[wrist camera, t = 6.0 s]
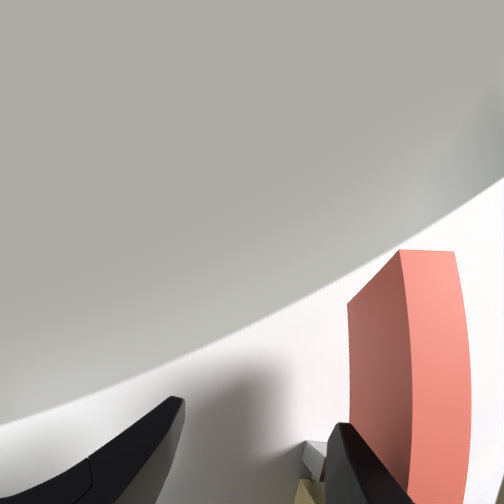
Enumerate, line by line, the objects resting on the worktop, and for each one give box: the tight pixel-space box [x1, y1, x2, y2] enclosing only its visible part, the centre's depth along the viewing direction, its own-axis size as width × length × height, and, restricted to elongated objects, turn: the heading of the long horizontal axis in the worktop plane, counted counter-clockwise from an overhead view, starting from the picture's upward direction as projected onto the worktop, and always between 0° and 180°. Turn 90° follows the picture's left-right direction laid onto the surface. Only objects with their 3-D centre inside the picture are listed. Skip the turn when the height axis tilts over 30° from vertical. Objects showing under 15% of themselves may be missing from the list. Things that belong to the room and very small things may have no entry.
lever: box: [347, 249, 471, 504], centre depth 8 cm, size 13×2×5 cm, turn 178°
